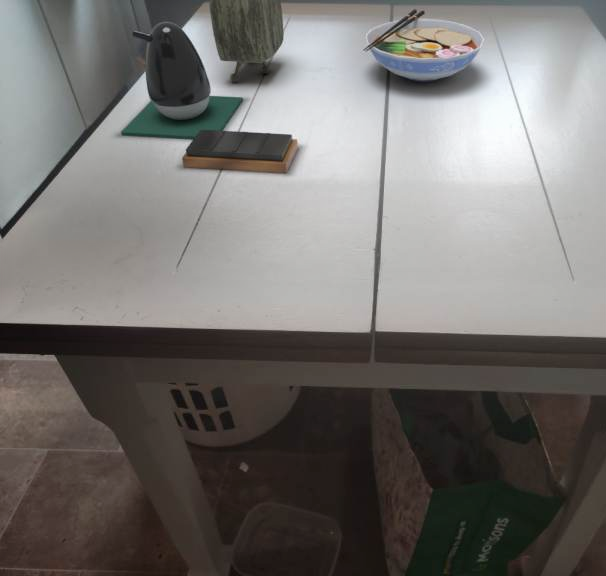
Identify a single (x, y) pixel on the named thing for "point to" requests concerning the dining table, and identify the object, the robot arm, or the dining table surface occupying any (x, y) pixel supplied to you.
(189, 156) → the whetstone on wooden base
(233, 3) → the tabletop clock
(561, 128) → the dining table surface
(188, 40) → the pump dispenser
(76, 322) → the dining table surface
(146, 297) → the dining table surface
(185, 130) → the mat
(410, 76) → the ramen bowl
